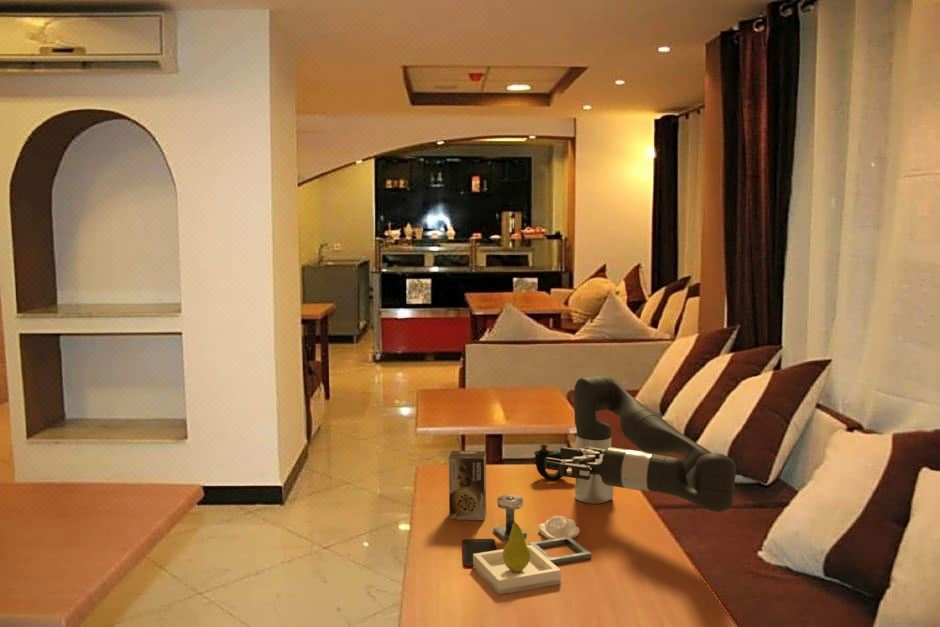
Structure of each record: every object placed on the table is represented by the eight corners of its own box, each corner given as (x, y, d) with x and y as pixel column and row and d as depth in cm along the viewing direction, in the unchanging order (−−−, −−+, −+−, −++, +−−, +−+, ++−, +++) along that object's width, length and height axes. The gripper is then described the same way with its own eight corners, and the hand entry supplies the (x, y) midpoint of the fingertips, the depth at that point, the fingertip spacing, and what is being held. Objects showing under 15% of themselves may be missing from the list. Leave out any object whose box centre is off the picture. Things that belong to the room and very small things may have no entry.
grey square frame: (569, 541, 194) (569, 536, 194) (591, 558, 185) (591, 553, 185) (528, 547, 191) (528, 542, 191) (549, 565, 181) (549, 560, 181)
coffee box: (486, 511, 213) (487, 450, 211) (484, 521, 207) (485, 458, 205) (451, 510, 214) (451, 449, 212) (448, 519, 208) (448, 457, 206)
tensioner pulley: (516, 528, 202) (516, 492, 201) (526, 537, 197) (527, 500, 196) (493, 531, 200) (493, 495, 199) (503, 540, 195) (503, 503, 194)
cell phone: (495, 542, 195) (495, 538, 194) (499, 569, 180) (499, 565, 180) (462, 542, 194) (462, 538, 194) (463, 569, 180) (463, 565, 180)
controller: (533, 476, 242) (533, 443, 240) (575, 476, 242) (576, 443, 240) (534, 481, 237) (534, 447, 236) (577, 481, 237) (578, 447, 236)
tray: (531, 557, 185) (531, 544, 185) (560, 583, 172) (560, 569, 172) (473, 567, 180) (473, 553, 180) (498, 594, 167) (498, 580, 167)
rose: (583, 512, 201) (575, 527, 192) (583, 530, 202) (575, 545, 193) (543, 508, 204) (533, 521, 195) (543, 525, 205) (533, 539, 196)
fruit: (526, 578, 172) (527, 522, 171) (499, 574, 174) (499, 519, 173) (532, 567, 178) (533, 513, 176) (506, 563, 180) (506, 510, 178)
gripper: (616, 498, 157) (538, 484, 164) (640, 477, 169) (565, 466, 177) (617, 459, 156) (538, 447, 163) (641, 441, 168) (566, 431, 176)
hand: (552, 457), depth 170 cm, fingers open, 8 cm apart
